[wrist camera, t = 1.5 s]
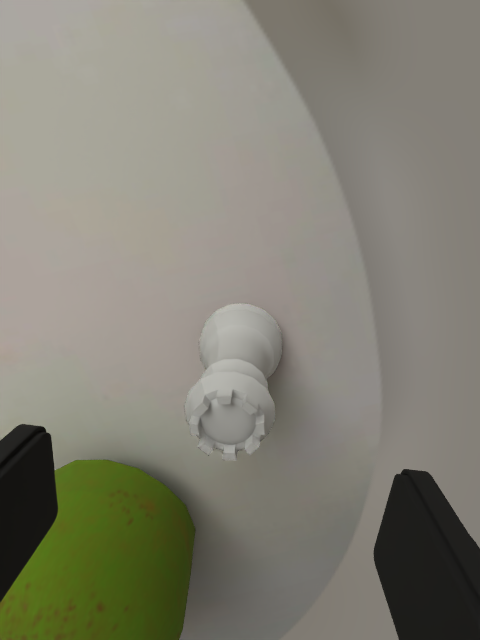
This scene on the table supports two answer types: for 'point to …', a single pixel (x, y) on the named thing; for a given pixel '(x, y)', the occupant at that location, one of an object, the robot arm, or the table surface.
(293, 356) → the table surface
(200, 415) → the rook chess piece
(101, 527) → the apple
